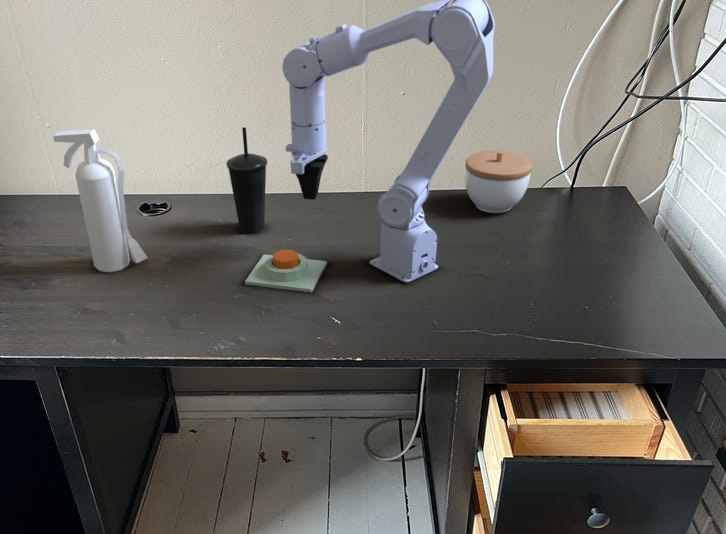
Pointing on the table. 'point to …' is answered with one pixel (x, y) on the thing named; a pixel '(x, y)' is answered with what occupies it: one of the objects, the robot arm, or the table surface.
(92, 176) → the fire extinguisher
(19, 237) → the table surface
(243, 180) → the drinking cup
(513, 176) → the lidded bowl
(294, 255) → the button
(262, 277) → the button block
